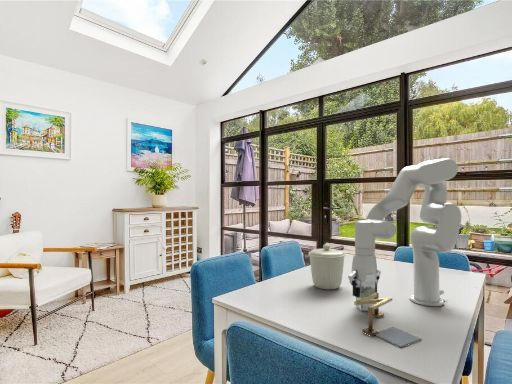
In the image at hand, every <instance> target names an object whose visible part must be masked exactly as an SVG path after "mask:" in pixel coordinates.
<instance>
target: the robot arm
mask: <svg viewBox="0 0 512 384" xmlns="http://www.w3.org/2000/svg"><path fill="white" fill-rule="evenodd" d="M458 171H459V167H458V163H457V161H455V160H453V159H451V158H439V159H432V160H425V161H422V162H420V163H419V164H417V165H409V166H405V167H403V168H402V169H401V170H400V171H399V173H398V174H397V177H396V178H395V180H394V182H393V184H392V185H391V187H390V189H389V190H388V193H387V194H386V196H384V197H383V198H382V199H380V200H379V201H378V202H377V203H376V204H375V205H373V207H372V208H371V209H370V211H368V214H367V216H366V218H365V219H364V220H363V219H361V220H357V221H356V222H355V223H354V255H353V257H352V261H351V273H350V274H349V275H348V276H347V278H348V281H349V283H350V285H351V287H352V296H353V297H355V298H356V297H358V298H359V297H360V287H359V285H360V283H361V282H363V281H365V279H366V275H369V274H372V273H373V274H375V292H377V293H378V283H379V279H380V276H381V273H382V271H381V270H379V269H378V266H377V265H378V264H377V257H376V239H382V240H389V239H392V238H394V237H395V236H396V235H397V227H396V225H395V223H393V222H392V221H390V220H385V218H386V217H387V216H389V215H390V214H391V213H393V212H395V211H398V210H400V209H403V208H404V207H406V206H407V205H408V204H409V203H410V200H411V198H412V197H413V196H414V195H413V194H414V192H415V191H416V189H417V188H418V187H420V186H421V187H422V186H423V187H424V194H423V200H422V204H421V208H420V210H419V211H420V212H419V218H420V221H421V222H423V223H424V224H428V225H434V226H437V227H433V226H432V227H431V226H425V225H424V226H417V227H415V228H414V229H413V230H412V231H411V233H410V243H411V248H412V254H413V294H411V295H410V296H409V299H410V301H411V302H413V303H415V304H418V305H422V306H427V307H439V306H440V307H441V306H444V304H445V302H444V300H443V298H441V295H444V294H445V291H444V290H443V289H440V259H439V256H438V253H442V254H446V253H447V254H448V253H450V252H451V251H452V250H454V248H455V247H456V244H457V241H458V237H459V231H460V227H461V223H462V211H461V209H460V207H459V206H458V205H457V204H455V203H452V202H447V198H448V188H447V186H446V184H445V183H444V182H446V181H449V180H451V179H453V178H454V177H456V175H457V173H458ZM356 281H358V282H357V283H356Z"/></svg>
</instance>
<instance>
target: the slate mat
mask: <svg viewBox="0 0 512 384" xmlns="http://www.w3.org/2000/svg"><path fill="white" fill-rule="evenodd" d="M378 331H379V333H377V334H375V335H376V336H375V337H377V336H378V337H377V338H379V337H380V338H379V339H381V338H382V339H381V340H383V339H384V340H383V341H385V340H386V341H385V342H387V341H388V342H387V343H389V342H391V343H393V344H395V345H397V346H399V347H398V348H400V347H402V348H404V347H403V346H405V347H407V346H406V345H408V344H410V345H412V344H411V343H413V344H415V343H418V342H420V341H422V337H419V336H416V335H414V334H412V333H409V332H406V331H405V330H402V329H400V328H397V327H395V326H391V327H387V328H384V329H382V330H378ZM417 341H418V342H417ZM414 342H415V343H414ZM391 343H390V344H391ZM393 344H392V345H393ZM395 345H394V346H395ZM397 346H396V347H397ZM408 346H409V345H408Z"/></svg>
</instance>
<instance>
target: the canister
mask: <svg viewBox="0 0 512 384" xmlns="http://www.w3.org/2000/svg"><path fill="white" fill-rule="evenodd" d="M307 255H308V256H309V263H310V270H311V271H310V272H311V278H312V284H313V285H314V286H315V287H316V288H318V289H321V290H328V291H329V290H330V291H331V290H336V289H339V288H340V287H341V285H342V280H343V273H344V263H345V257H346V255H347V254H346V253H345V252H343V251H342V250H339V249H335V248H331V245H330V244H329V243H325V244H323V246H322V248H314V249H312V250H310V251H309V252H308V254H307Z"/></svg>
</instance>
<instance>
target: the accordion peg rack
mask: <svg viewBox="0 0 512 384" xmlns="http://www.w3.org/2000/svg"><path fill="white" fill-rule="evenodd" d="M372 298H375V299H372ZM370 299H371V300H370ZM392 301H393V297H391V296H389V297H379V292H378V291H377V292H375V293H373V294H371V295H369V296H367V297H364V298H362V299H360V300H357V301H356V300H355V301H353V304H354V306H356V305H364V304H371V303H375V304H374V305H372V306H370V307H368V311H367V325H368V326H367V327H366V328H364V329H363V328H362V329H361V332H364V333H366V334H368V335H370V336H373V335H375V334H377V333H379V331H380V330H378V329H374V328H373V326H374V323H373V321H374V319H373V318H375V317H376V318H375V319H380V317H381V318H384V317H385V314H384V313H383V312H380V310H379V308H380V307H382V306H384V305H387V304H388V303H390V302H392ZM373 310H375V311H373ZM373 316H374V317H373ZM383 316H384V317H383ZM364 333H363V334H364ZM366 334H365V335H366ZM368 335H367V336H368ZM370 336H369V337H370ZM373 337H374V336H373Z"/></svg>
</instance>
